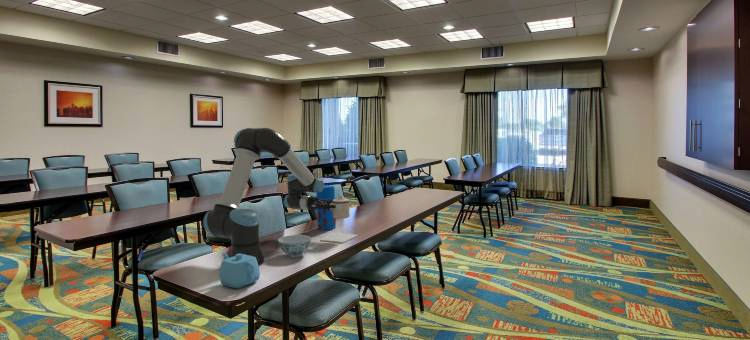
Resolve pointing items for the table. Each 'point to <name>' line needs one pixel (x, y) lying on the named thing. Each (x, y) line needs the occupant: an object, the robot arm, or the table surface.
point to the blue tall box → (325, 215)
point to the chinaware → (294, 244)
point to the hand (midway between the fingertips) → (346, 205)
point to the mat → (339, 238)
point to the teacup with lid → (345, 208)
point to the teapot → (239, 270)
